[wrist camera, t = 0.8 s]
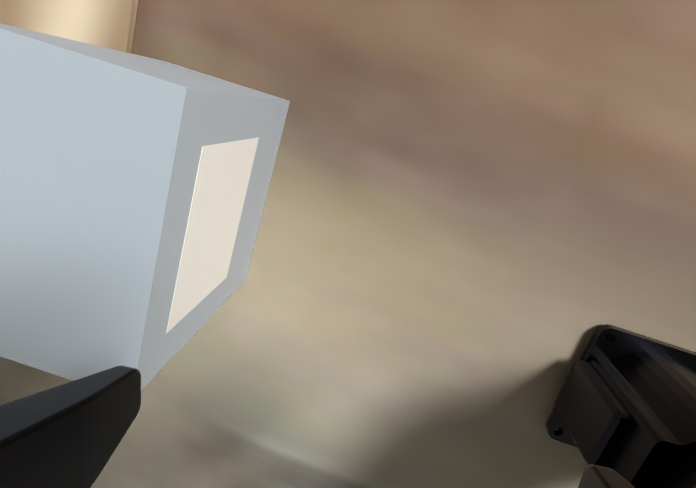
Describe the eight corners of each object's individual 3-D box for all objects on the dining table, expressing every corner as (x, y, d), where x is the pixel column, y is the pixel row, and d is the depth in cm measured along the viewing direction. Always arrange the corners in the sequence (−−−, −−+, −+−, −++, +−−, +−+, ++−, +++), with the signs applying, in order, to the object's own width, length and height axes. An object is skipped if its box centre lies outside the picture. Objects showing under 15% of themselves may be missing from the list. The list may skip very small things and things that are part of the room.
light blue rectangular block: (290, 101, 20) (187, 87, 10) (246, 279, 22) (132, 401, 13) (164, 60, 20) (-55, 10, 10) (135, 243, 23) (-60, 336, 13)
